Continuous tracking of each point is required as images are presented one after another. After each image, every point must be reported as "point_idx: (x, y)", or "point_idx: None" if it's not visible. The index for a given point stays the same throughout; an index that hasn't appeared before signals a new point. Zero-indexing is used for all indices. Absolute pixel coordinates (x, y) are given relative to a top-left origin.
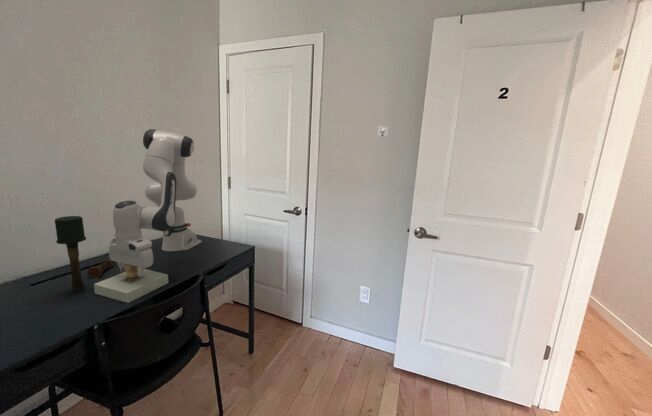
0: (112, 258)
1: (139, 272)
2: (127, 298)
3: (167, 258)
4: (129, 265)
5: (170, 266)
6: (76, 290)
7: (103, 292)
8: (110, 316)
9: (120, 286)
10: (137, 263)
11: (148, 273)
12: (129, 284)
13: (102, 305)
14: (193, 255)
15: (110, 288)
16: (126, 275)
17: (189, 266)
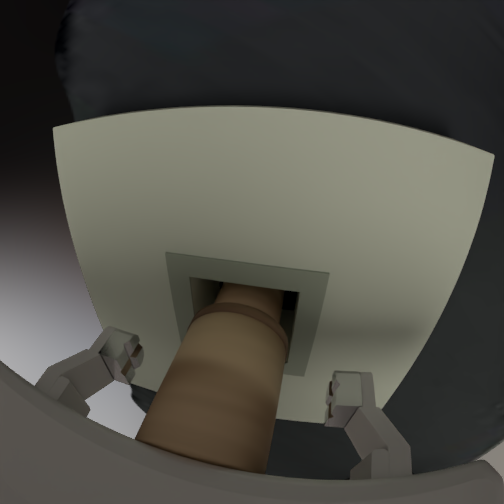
0: (465, 495)
1: (86, 351)
2: (82, 120)
3: (351, 460)
4: (147, 435)
5: (289, 439)
6: None
7: (358, 116)
8: (76, 5)
9: (194, 183)
10: (11, 411)
11: None
12: (165, 241)
13: (218, 17)
14: (282, 472)
15: (243, 110)
16: (244, 331)
17: None
